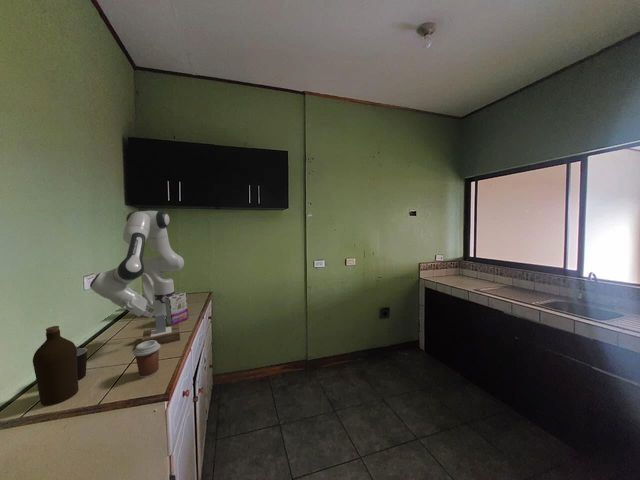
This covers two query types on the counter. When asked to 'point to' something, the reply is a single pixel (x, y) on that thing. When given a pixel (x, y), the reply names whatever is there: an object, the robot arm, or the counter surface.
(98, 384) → the counter surface
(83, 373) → the coffee mug
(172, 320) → the candy bar box
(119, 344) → the counter surface
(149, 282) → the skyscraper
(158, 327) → the slate block
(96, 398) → the counter surface
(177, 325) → the walnut base
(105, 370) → the counter surface
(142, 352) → the coffee cup
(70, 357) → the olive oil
